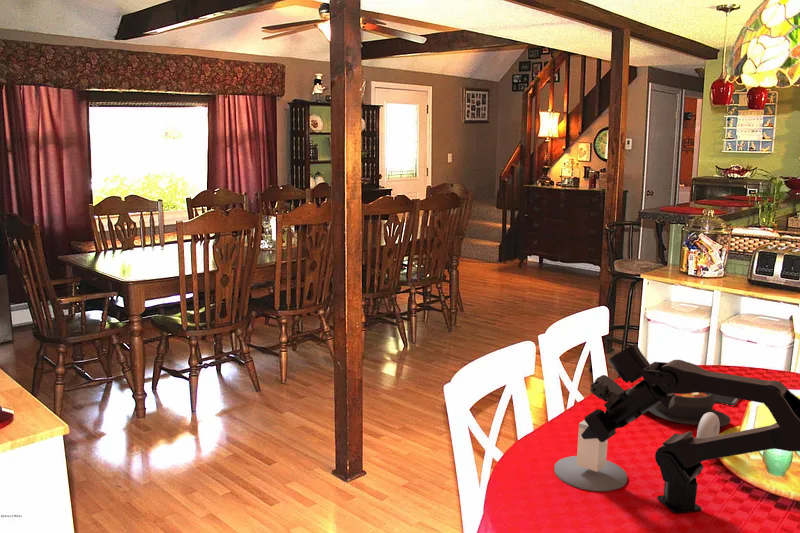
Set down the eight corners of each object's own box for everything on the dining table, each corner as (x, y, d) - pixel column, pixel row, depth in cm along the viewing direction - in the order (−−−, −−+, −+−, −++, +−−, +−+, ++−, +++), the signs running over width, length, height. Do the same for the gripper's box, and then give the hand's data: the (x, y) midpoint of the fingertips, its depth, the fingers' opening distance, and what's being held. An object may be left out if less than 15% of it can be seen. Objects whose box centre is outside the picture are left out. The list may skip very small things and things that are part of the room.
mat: (640, 488, 156) (641, 485, 156) (573, 494, 153) (573, 491, 152) (605, 455, 171) (605, 453, 171) (542, 460, 168) (543, 458, 168)
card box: (605, 465, 162) (609, 423, 160) (597, 471, 158) (600, 429, 156) (585, 458, 165) (588, 417, 163) (576, 464, 161) (579, 423, 160)
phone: (746, 390, 216) (734, 404, 205) (745, 394, 217) (733, 408, 205) (718, 384, 221) (705, 397, 209) (718, 388, 221) (705, 401, 210)
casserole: (622, 413, 198) (625, 384, 197) (651, 396, 212) (654, 369, 210) (714, 441, 182) (718, 409, 180) (740, 421, 195) (743, 391, 193)
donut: (704, 443, 180) (708, 405, 178) (719, 447, 178) (723, 409, 176) (692, 456, 172) (696, 417, 170) (707, 460, 170) (711, 421, 168)
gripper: (632, 358, 162) (584, 392, 171) (596, 378, 148) (545, 414, 157) (664, 400, 158) (613, 433, 167) (630, 424, 144) (576, 459, 153)
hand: (587, 433), depth 161 cm, fingers closed on card box, 4 cm apart
